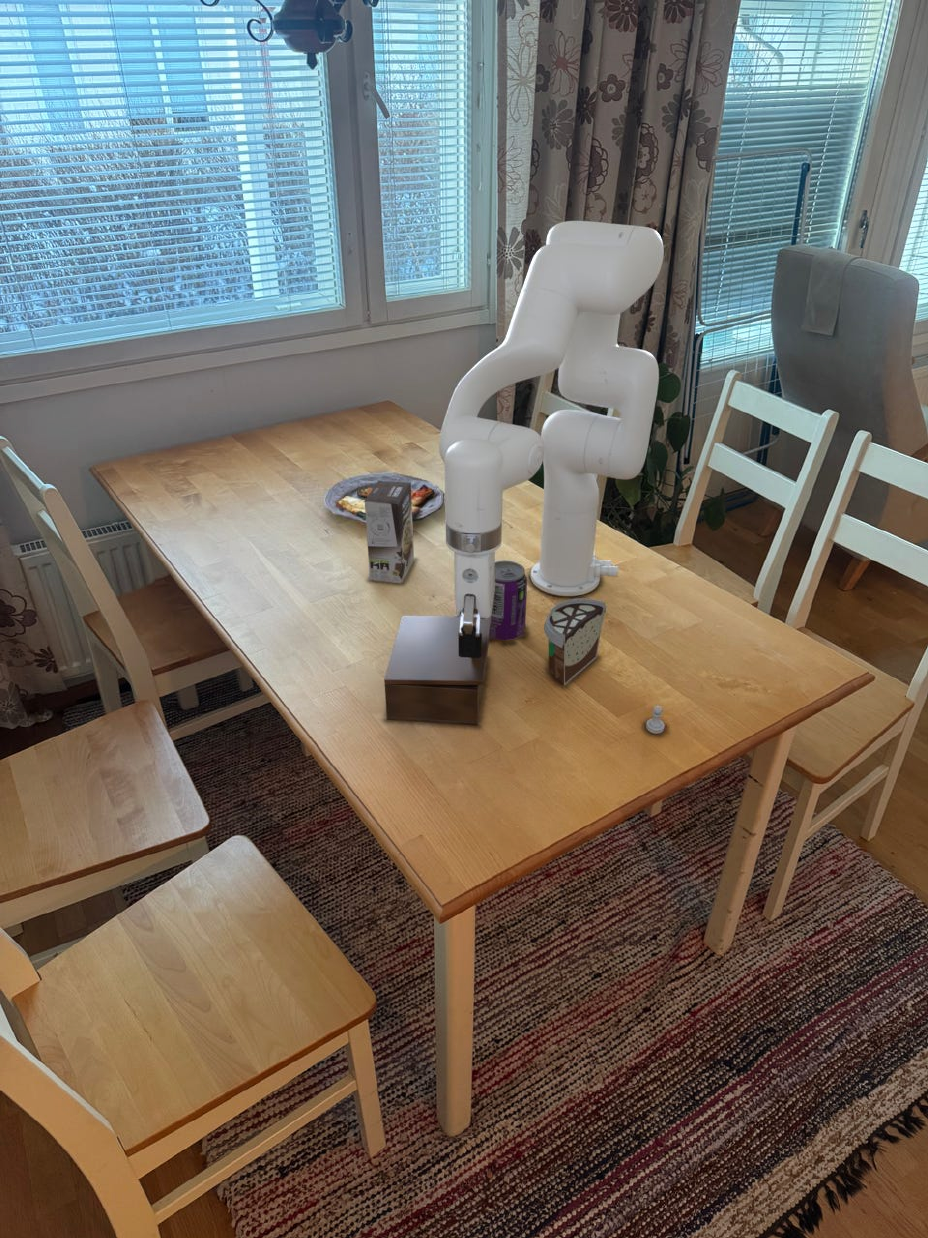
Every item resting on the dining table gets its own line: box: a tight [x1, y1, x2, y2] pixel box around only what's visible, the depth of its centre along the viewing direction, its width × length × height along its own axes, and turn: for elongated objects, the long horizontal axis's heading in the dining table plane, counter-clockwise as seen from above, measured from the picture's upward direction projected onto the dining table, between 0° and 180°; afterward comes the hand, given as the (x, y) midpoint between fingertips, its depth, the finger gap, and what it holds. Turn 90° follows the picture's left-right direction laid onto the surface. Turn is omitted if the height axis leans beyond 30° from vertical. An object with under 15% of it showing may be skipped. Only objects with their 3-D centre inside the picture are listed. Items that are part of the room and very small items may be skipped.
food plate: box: [323, 471, 445, 524], centre depth 180 cm, size 25×23×4 cm
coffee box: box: [365, 481, 415, 584], centre depth 154 cm, size 9×6×16 cm
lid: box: [383, 610, 492, 686], centre depth 124 cm, size 14×16×6 cm
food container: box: [543, 598, 607, 687], centre depth 132 cm, size 12×6×10 cm, turn 141°
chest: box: [383, 683, 484, 727], centre depth 128 cm, size 13×16×7 cm
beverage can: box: [490, 560, 528, 641], centre depth 139 cm, size 7×7×12 cm
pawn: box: [645, 705, 666, 735], centre depth 121 cm, size 3×3×4 cm
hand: (473, 636), depth 124 cm, fingers open, 9 cm apart
